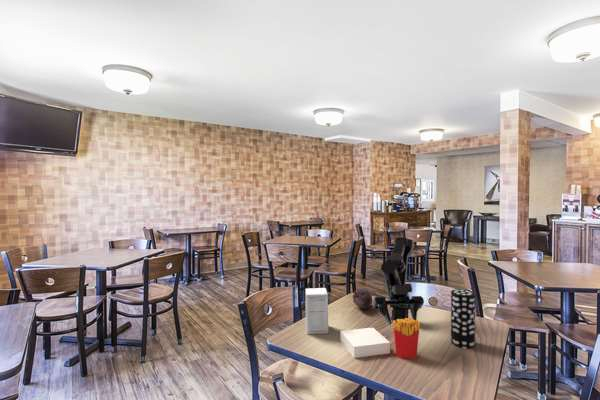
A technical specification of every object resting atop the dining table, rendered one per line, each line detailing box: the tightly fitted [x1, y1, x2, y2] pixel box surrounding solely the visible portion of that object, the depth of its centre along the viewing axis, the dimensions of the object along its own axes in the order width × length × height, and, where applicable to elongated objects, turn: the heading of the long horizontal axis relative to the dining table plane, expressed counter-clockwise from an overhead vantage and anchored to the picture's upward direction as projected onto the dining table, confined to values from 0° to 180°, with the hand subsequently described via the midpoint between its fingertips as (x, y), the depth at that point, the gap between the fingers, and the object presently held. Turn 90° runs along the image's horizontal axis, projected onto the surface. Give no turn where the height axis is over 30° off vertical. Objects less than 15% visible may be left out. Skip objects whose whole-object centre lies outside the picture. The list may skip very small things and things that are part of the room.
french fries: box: [392, 317, 421, 359], centre depth 119 cm, size 9×4×13 cm, turn 85°
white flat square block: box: [339, 327, 391, 359], centre depth 126 cm, size 14×14×4 cm
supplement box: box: [304, 287, 329, 335], centre depth 142 cm, size 10×9×17 cm
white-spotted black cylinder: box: [450, 288, 476, 350], centre depth 127 cm, size 8×8×20 cm
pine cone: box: [352, 288, 373, 309], centre depth 168 cm, size 18×10×10 cm, turn 165°
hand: (403, 324), depth 122 cm, fingers open, 9 cm apart
